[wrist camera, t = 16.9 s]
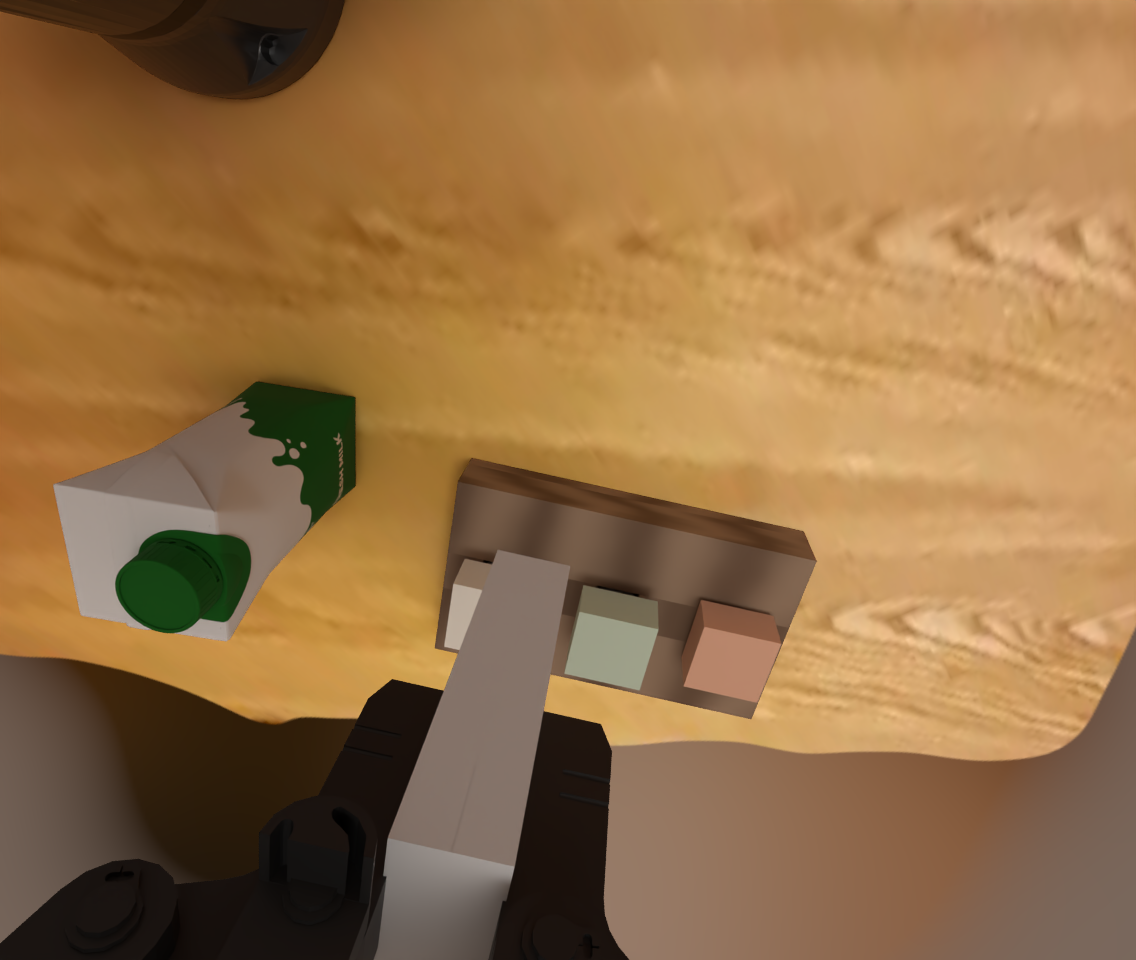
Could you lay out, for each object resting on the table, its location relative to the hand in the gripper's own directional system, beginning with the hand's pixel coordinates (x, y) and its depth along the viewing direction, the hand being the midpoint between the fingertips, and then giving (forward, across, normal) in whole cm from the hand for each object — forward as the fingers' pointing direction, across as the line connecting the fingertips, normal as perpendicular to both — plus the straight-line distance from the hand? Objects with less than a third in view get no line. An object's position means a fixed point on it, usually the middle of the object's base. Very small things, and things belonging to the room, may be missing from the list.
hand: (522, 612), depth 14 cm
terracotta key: (+31, +13, -19) cm, 39 cm away
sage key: (+30, +5, -19) cm, 35 cm away
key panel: (+32, +5, -19) cm, 38 cm away
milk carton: (+33, -19, -13) cm, 40 cm away
